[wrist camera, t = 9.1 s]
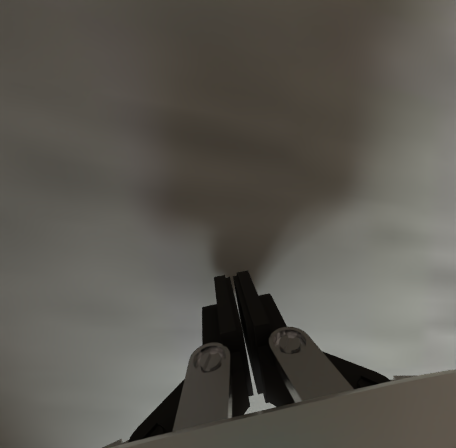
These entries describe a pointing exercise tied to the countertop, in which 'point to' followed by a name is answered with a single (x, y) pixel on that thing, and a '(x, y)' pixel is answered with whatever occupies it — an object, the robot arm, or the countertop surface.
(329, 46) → the countertop surface
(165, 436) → the robot arm
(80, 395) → the countertop surface
